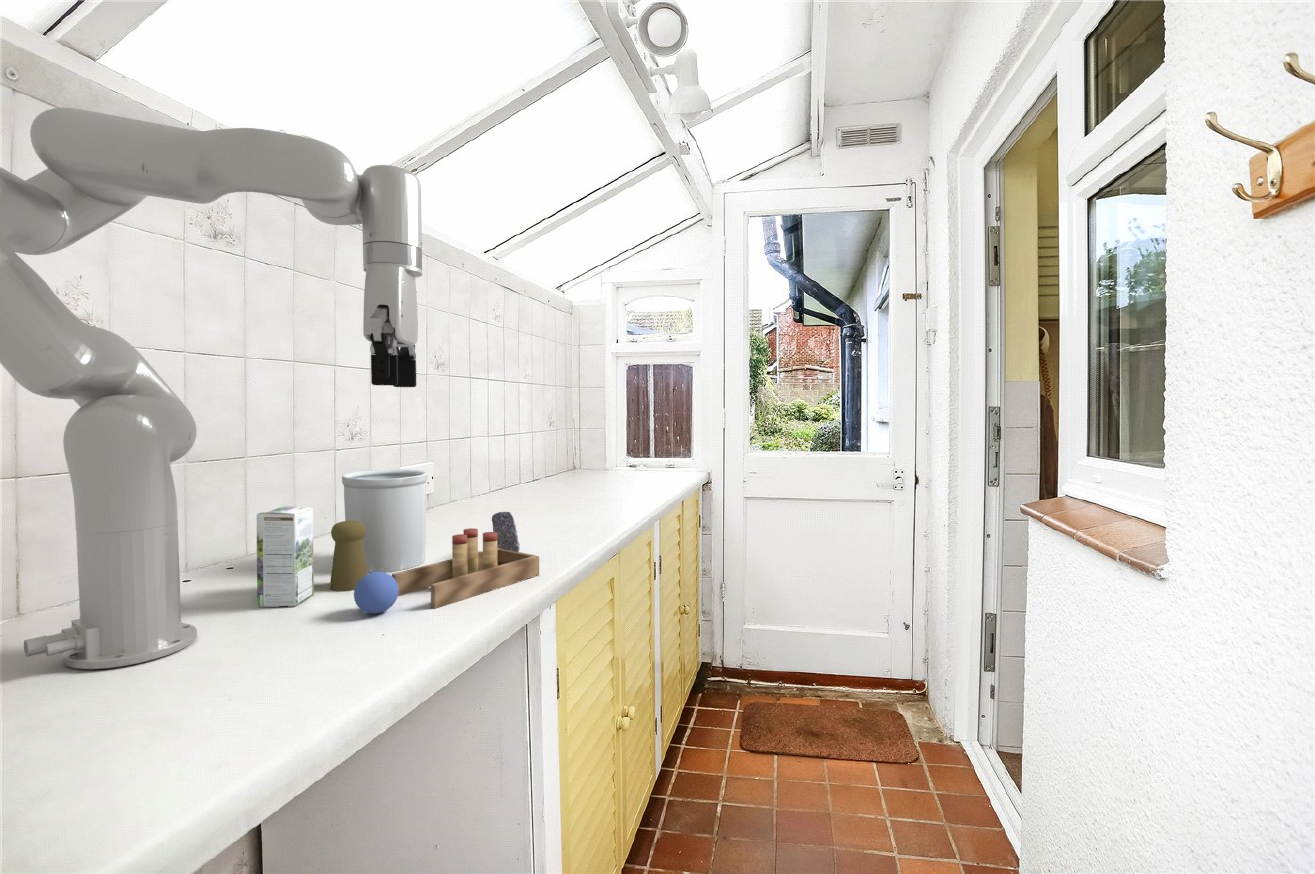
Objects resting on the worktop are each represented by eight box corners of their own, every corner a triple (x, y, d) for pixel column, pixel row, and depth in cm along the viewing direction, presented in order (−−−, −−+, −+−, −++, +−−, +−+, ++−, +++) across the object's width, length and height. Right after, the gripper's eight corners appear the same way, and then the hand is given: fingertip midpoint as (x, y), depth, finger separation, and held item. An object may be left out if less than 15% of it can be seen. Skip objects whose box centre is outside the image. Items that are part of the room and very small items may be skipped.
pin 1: (470, 582, 107) (469, 531, 106) (460, 579, 108) (460, 530, 107) (481, 578, 109) (480, 529, 108) (472, 576, 110) (471, 527, 109)
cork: (353, 592, 100) (351, 525, 100) (321, 590, 101) (319, 524, 101) (377, 582, 106) (376, 519, 106) (346, 579, 107) (345, 517, 107)
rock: (522, 564, 119) (522, 513, 118) (493, 567, 117) (493, 514, 116) (514, 550, 130) (514, 503, 129) (488, 552, 128) (487, 504, 127)
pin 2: (489, 587, 104) (489, 535, 103) (480, 584, 105) (479, 533, 105) (500, 583, 106) (500, 533, 105) (491, 581, 107) (490, 531, 107)
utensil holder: (424, 571, 113) (423, 476, 112) (335, 577, 109) (333, 478, 108) (431, 552, 127) (430, 468, 126) (353, 556, 123) (351, 469, 122)
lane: (435, 608, 93) (434, 585, 93) (391, 595, 99) (391, 574, 99) (539, 575, 111) (539, 556, 111) (497, 566, 117) (497, 547, 117)
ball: (369, 622, 87) (368, 580, 86) (345, 614, 90) (345, 573, 90) (407, 610, 92) (406, 571, 91) (383, 603, 95) (383, 565, 95)
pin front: (459, 590, 102) (458, 538, 101) (449, 588, 103) (449, 536, 102) (470, 587, 104) (470, 535, 103) (461, 584, 105) (460, 533, 104)
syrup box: (277, 596, 98) (274, 506, 97) (315, 595, 98) (313, 505, 98) (256, 608, 92) (253, 512, 92) (297, 607, 93) (295, 512, 92)
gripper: (383, 274, 93) (385, 387, 94) (341, 245, 76) (344, 384, 77) (435, 275, 94) (436, 387, 95) (404, 247, 77) (406, 384, 78)
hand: (395, 386), depth 86 cm, fingers open, 9 cm apart
